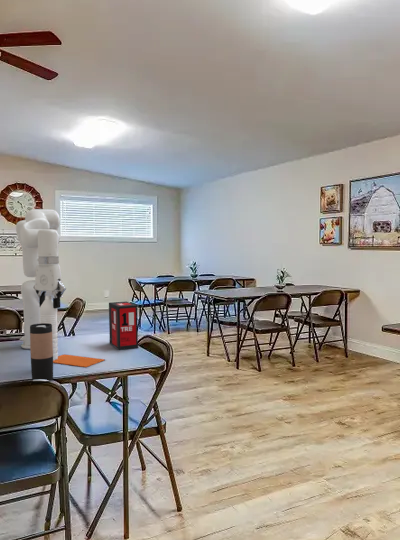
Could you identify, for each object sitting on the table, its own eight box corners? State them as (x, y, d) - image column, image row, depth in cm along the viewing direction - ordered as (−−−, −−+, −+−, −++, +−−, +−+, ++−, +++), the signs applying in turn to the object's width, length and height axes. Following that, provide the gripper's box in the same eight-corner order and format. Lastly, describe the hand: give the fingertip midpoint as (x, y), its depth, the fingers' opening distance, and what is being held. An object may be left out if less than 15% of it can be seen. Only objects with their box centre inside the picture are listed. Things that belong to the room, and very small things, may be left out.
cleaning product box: (109, 343, 228) (108, 302, 227) (127, 341, 232) (126, 301, 231) (119, 350, 213) (118, 306, 212) (137, 348, 217) (137, 305, 216)
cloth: (43, 361, 194) (43, 360, 194) (64, 355, 205) (64, 354, 205) (85, 367, 184) (85, 366, 184) (104, 360, 195) (104, 359, 195)
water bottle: (42, 362, 177) (41, 296, 176) (39, 358, 183) (38, 294, 182) (65, 359, 182) (64, 295, 180) (61, 355, 187) (60, 293, 186)
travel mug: (34, 377, 171) (32, 323, 170) (55, 376, 172) (54, 323, 171) (28, 383, 164) (26, 327, 162) (51, 383, 164) (49, 326, 163)
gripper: (24, 261, 181) (26, 307, 182) (58, 262, 173) (60, 310, 174) (39, 260, 187) (40, 305, 188) (72, 261, 180) (73, 307, 181)
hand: (50, 307), depth 181 cm, fingers closed on water bottle, 6 cm apart
